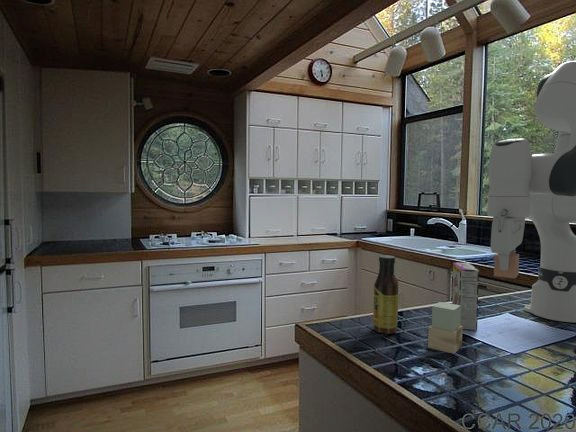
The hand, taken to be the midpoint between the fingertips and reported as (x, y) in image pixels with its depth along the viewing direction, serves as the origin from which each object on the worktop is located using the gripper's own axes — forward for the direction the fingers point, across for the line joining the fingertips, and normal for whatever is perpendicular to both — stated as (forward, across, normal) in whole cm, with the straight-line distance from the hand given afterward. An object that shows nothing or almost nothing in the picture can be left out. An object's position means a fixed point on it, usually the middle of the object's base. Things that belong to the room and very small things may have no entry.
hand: (506, 267), depth 100 cm
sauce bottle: (+19, -7, +27) cm, 34 cm away
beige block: (+19, -9, +11) cm, 24 cm away
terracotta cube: (+2, 0, 0) cm, 2 cm away
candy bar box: (+19, +12, +12) cm, 26 cm away
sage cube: (+14, -8, +11) cm, 20 cm away
